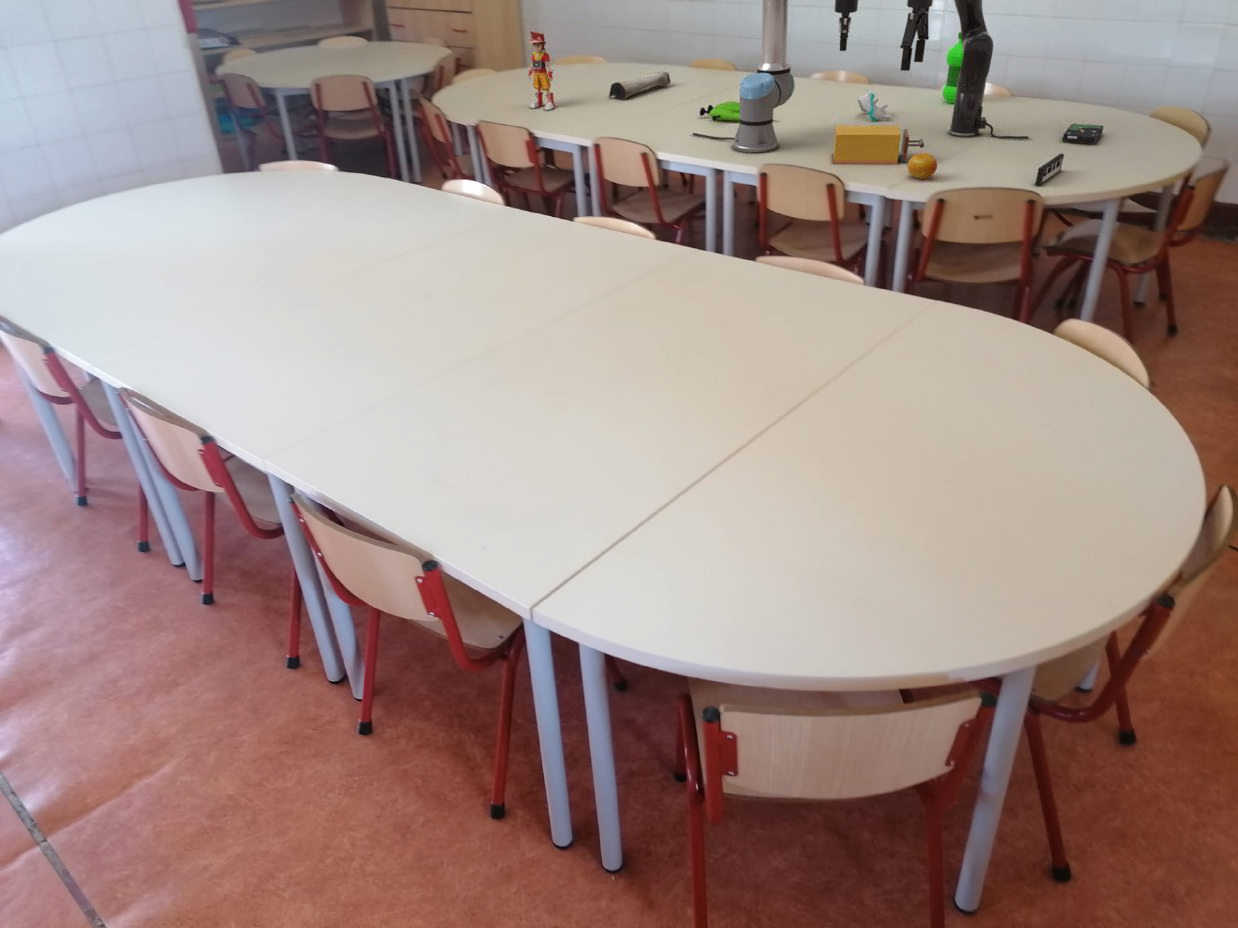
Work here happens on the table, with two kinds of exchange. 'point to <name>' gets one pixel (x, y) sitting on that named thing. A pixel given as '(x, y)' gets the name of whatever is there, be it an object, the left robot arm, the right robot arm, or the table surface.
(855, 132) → the cabinet
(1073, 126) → the disk drive
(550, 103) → the toy
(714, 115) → the toy
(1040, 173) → the midi keyboard
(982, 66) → the right robot arm
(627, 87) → the rolled mat
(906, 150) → the drawer
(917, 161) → the fruit
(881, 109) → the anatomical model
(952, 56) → the plastic bottle
